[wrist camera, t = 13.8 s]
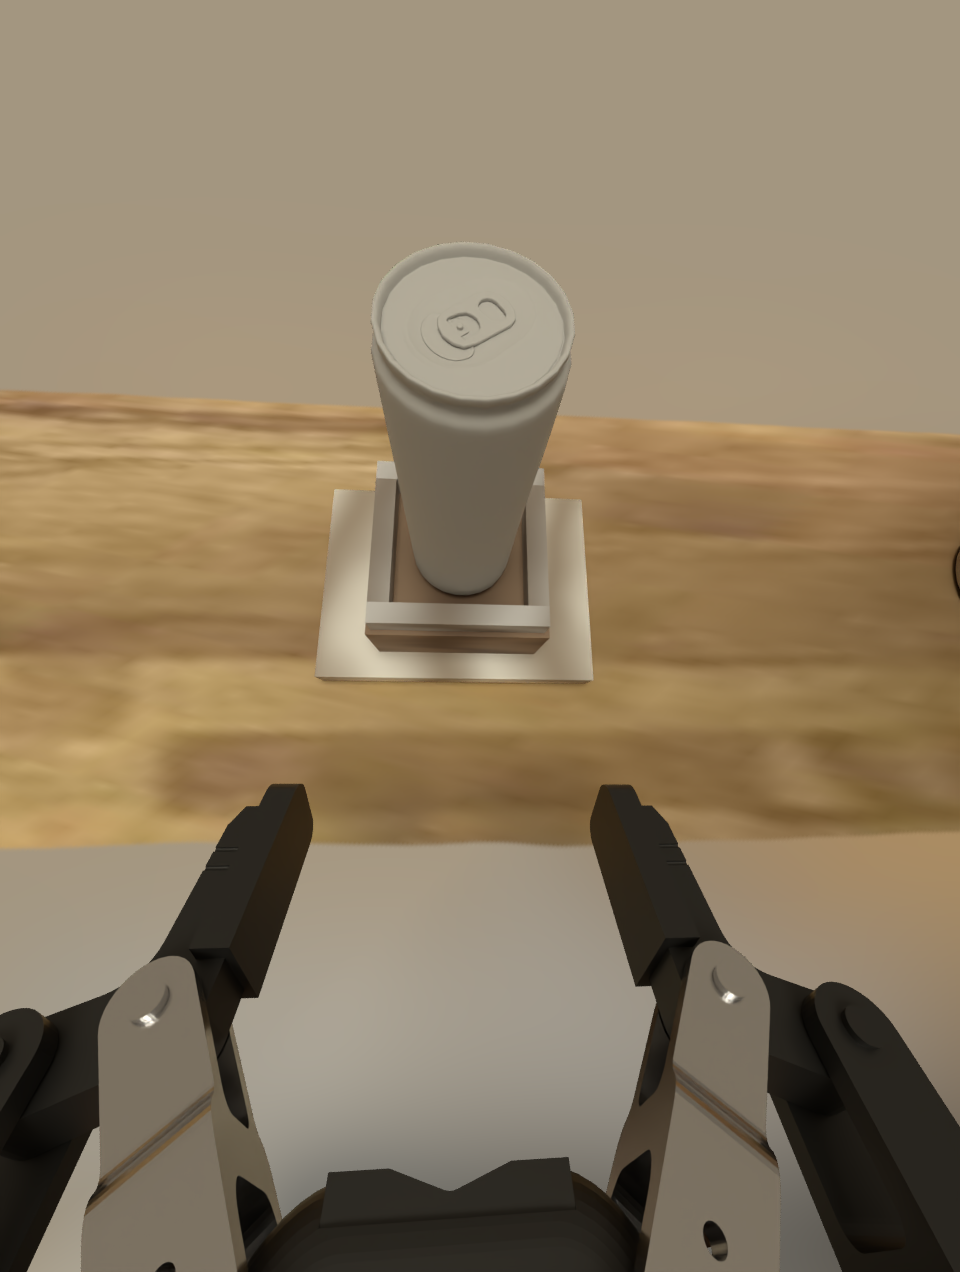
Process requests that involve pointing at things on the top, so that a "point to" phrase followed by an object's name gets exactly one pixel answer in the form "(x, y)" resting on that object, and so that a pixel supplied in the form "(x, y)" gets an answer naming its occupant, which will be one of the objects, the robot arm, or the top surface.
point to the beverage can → (468, 399)
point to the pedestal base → (373, 667)
